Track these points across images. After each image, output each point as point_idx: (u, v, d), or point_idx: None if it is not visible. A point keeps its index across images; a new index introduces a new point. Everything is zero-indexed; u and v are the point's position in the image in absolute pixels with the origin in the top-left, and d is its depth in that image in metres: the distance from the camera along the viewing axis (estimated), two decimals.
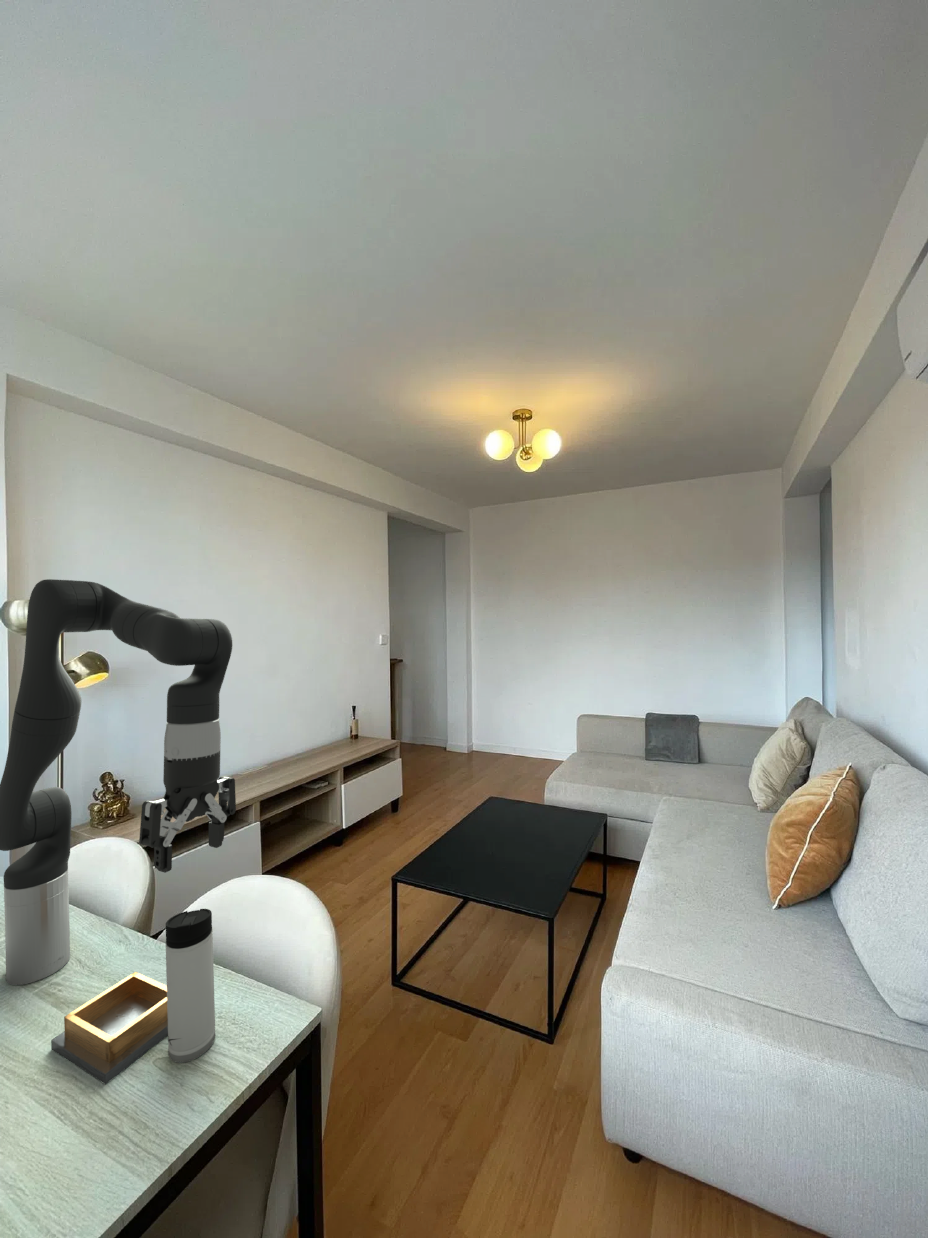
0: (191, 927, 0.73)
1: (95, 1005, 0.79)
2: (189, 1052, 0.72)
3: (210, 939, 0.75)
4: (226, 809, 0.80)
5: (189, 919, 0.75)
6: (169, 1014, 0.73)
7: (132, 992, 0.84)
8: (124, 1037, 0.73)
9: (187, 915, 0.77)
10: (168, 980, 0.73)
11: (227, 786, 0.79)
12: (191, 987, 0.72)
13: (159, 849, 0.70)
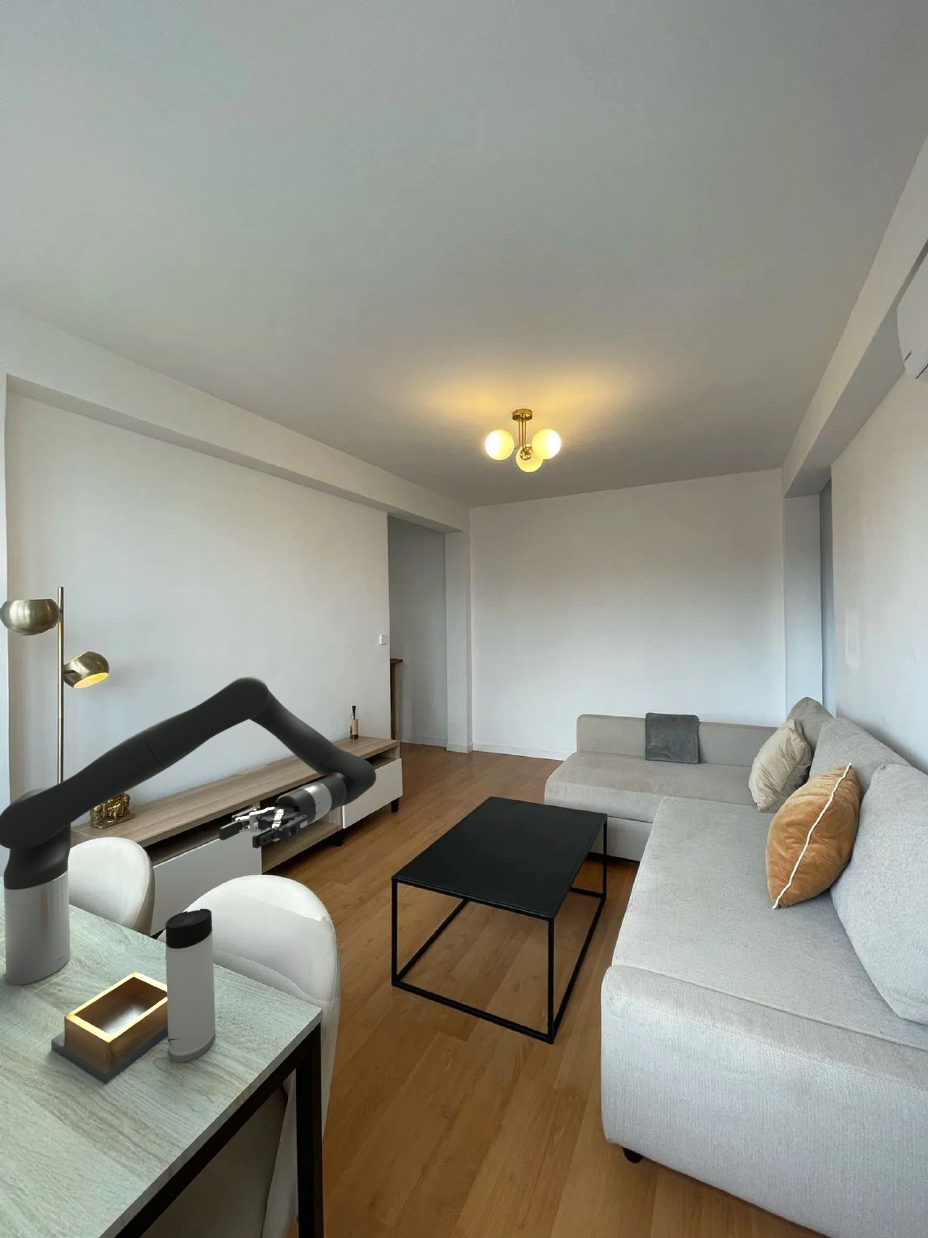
0: (191, 927, 0.73)
1: (95, 1005, 0.79)
2: (189, 1052, 0.72)
3: (210, 939, 0.75)
4: None
5: (189, 919, 0.75)
6: (169, 1014, 0.73)
7: (132, 992, 0.84)
8: (124, 1037, 0.73)
9: (187, 915, 0.77)
10: (168, 980, 0.73)
11: (256, 819, 0.98)
12: (191, 987, 0.72)
13: (274, 837, 0.88)
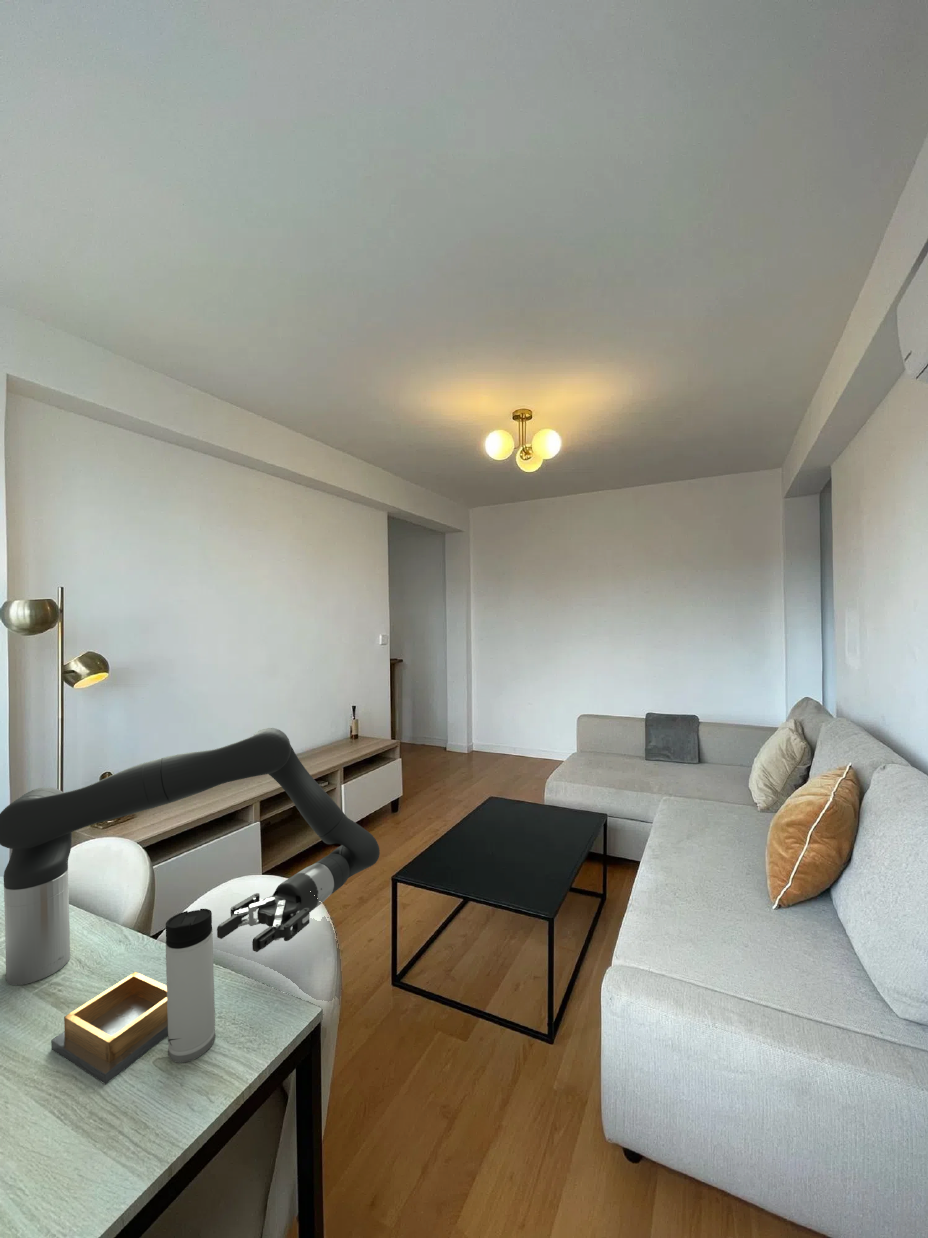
0: (191, 927, 0.73)
1: (95, 1005, 0.79)
2: (189, 1052, 0.72)
3: (210, 939, 0.75)
4: None
5: (189, 919, 0.75)
6: (169, 1014, 0.73)
7: (132, 992, 0.84)
8: (124, 1037, 0.73)
9: (187, 915, 0.77)
10: (168, 980, 0.73)
11: (256, 908, 0.94)
12: (191, 987, 0.72)
13: (275, 937, 0.84)
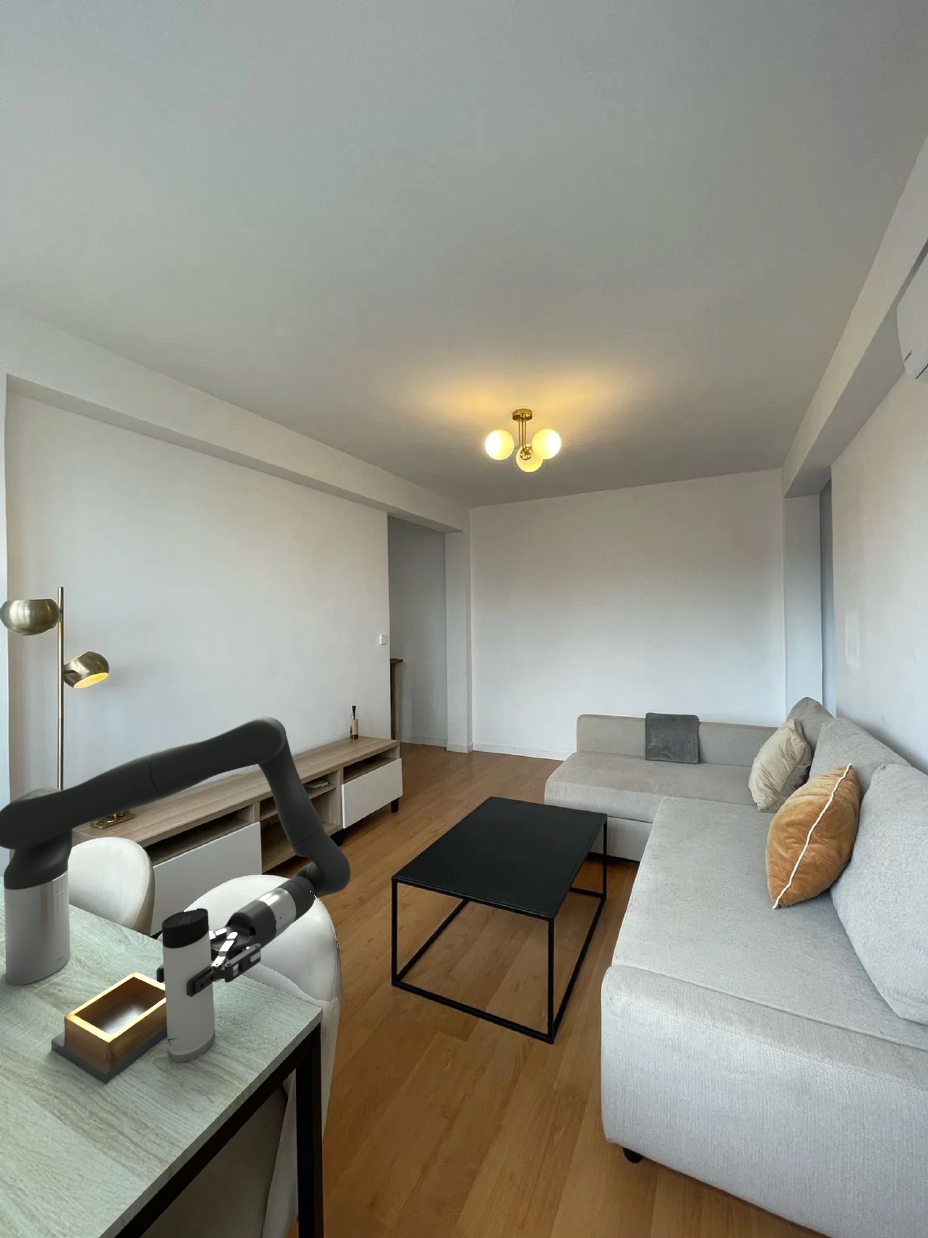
0: (187, 926, 0.73)
1: (95, 1005, 0.79)
2: (189, 1051, 0.72)
3: (207, 938, 0.75)
4: None
5: (186, 919, 0.75)
6: (168, 1014, 0.73)
7: (132, 992, 0.84)
8: (124, 1037, 0.73)
9: (184, 915, 0.77)
10: (166, 980, 0.73)
11: None
12: None
13: (214, 979, 0.74)
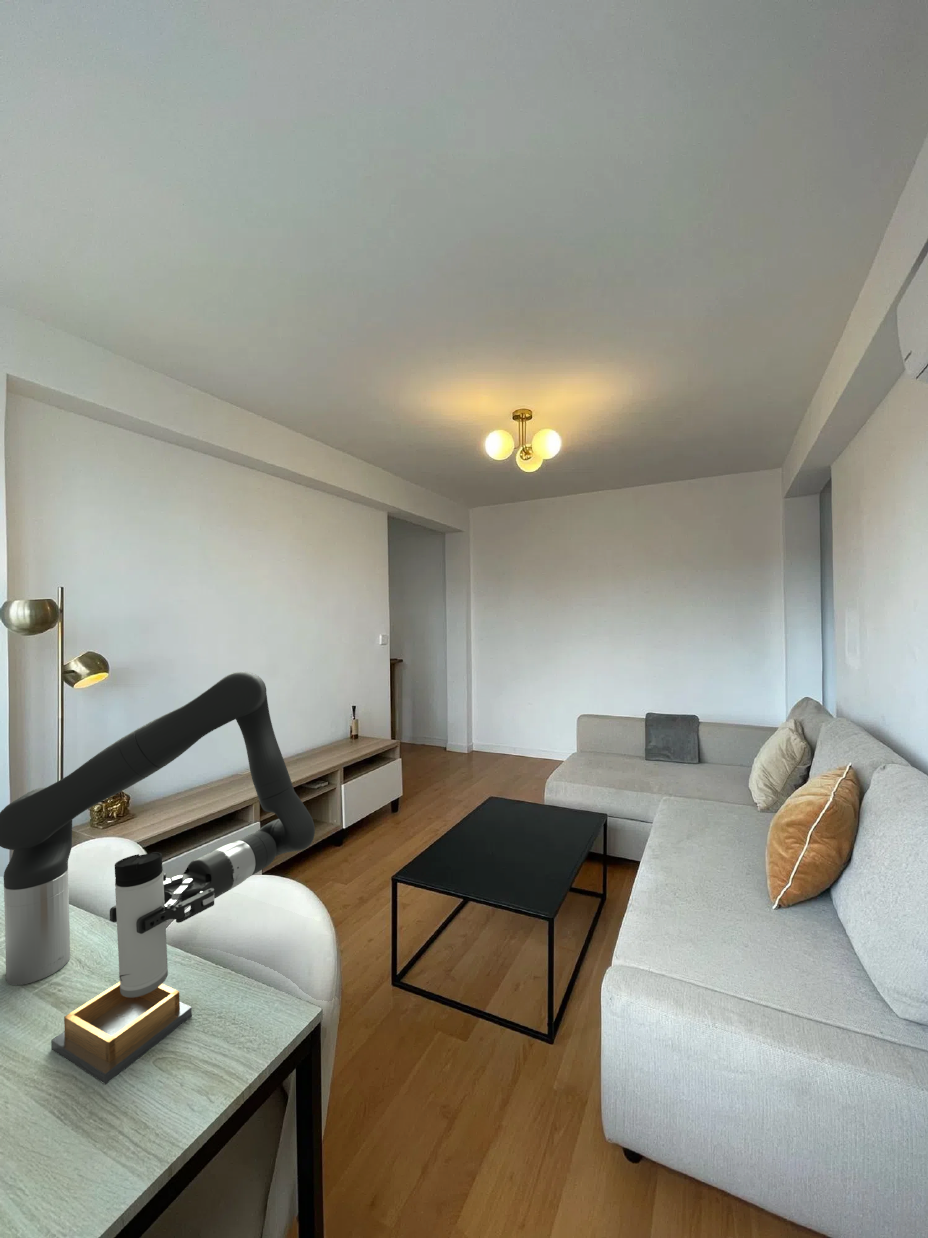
0: (139, 866, 0.74)
1: (95, 1005, 0.79)
2: (139, 987, 0.74)
3: (160, 880, 0.77)
4: None
5: (139, 860, 0.77)
6: (119, 951, 0.74)
7: None
8: (124, 1037, 0.73)
9: (138, 858, 0.78)
10: (117, 918, 0.74)
11: None
12: None
13: (165, 918, 0.76)
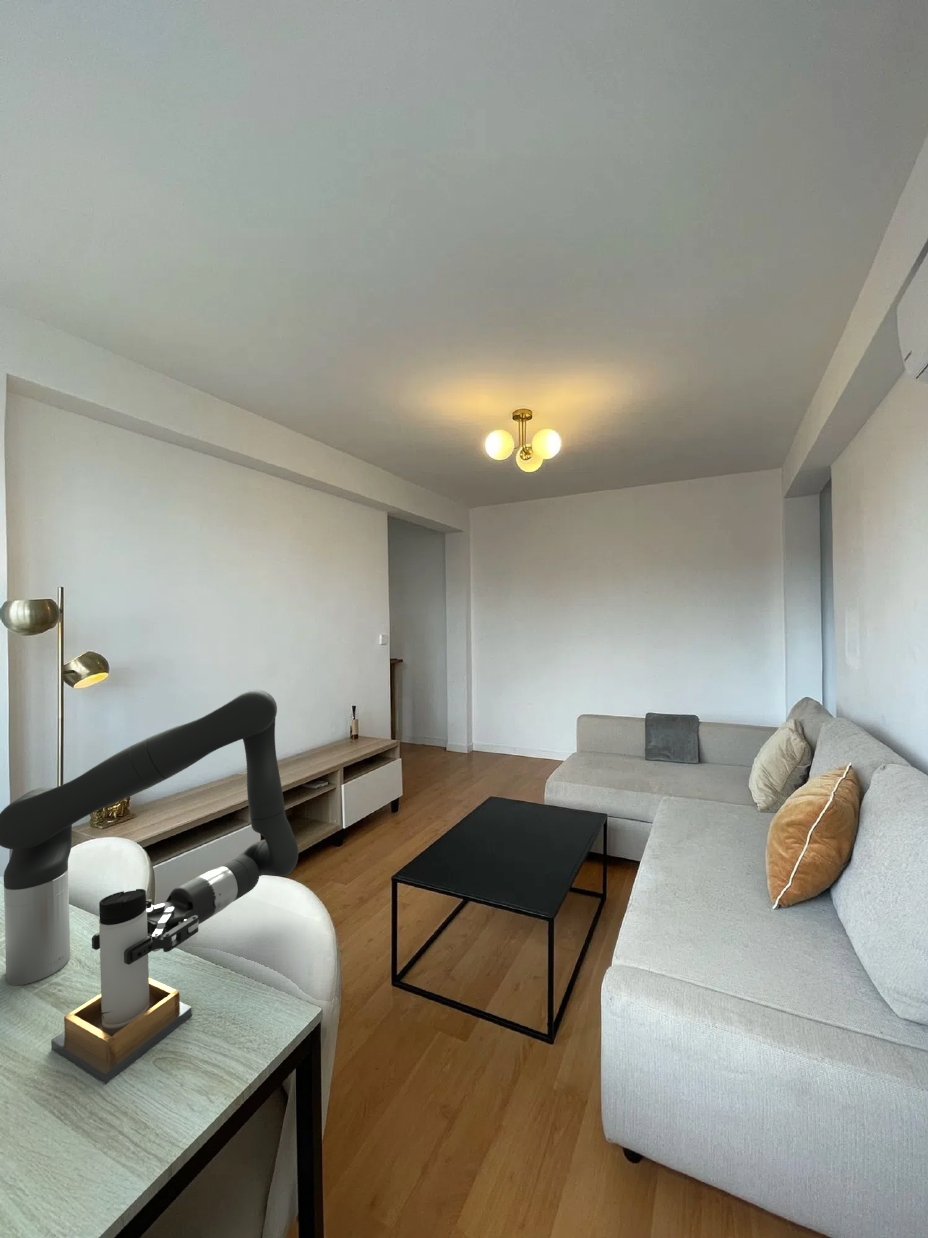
0: (123, 904, 0.76)
1: (95, 1005, 0.79)
2: (120, 1025, 0.76)
3: (143, 917, 0.79)
4: None
5: (124, 898, 0.79)
6: (102, 988, 0.76)
7: None
8: (124, 1037, 0.73)
9: (123, 895, 0.81)
10: (101, 955, 0.76)
11: None
12: (122, 962, 0.76)
13: (153, 948, 0.77)
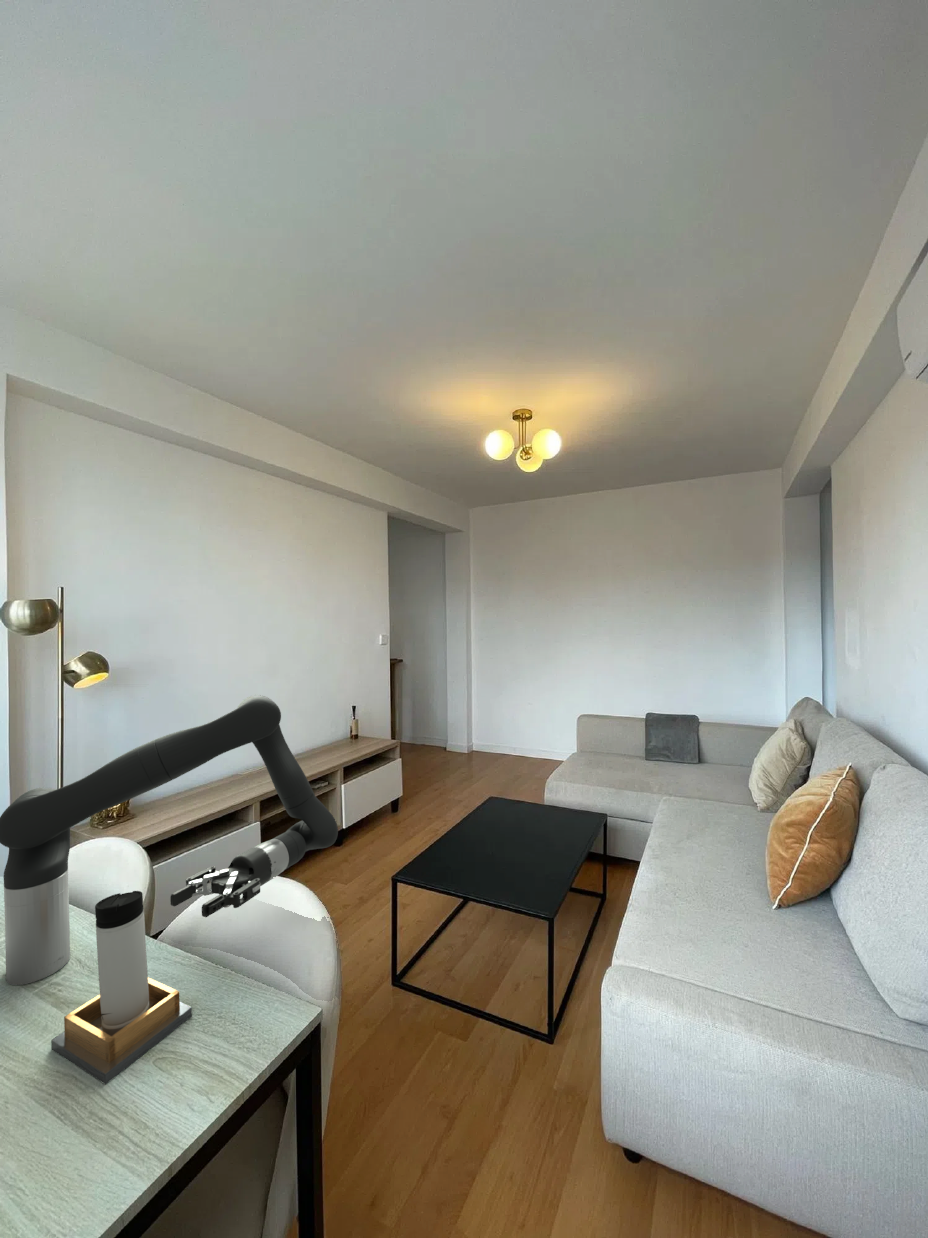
0: (118, 908, 0.75)
1: (95, 1005, 0.79)
2: (120, 1026, 0.75)
3: (140, 920, 0.78)
4: None
5: (120, 901, 0.78)
6: (100, 990, 0.76)
7: None
8: (124, 1037, 0.73)
9: (119, 897, 0.80)
10: (98, 958, 0.76)
11: (211, 880, 0.99)
12: (120, 965, 0.75)
13: (224, 904, 0.89)
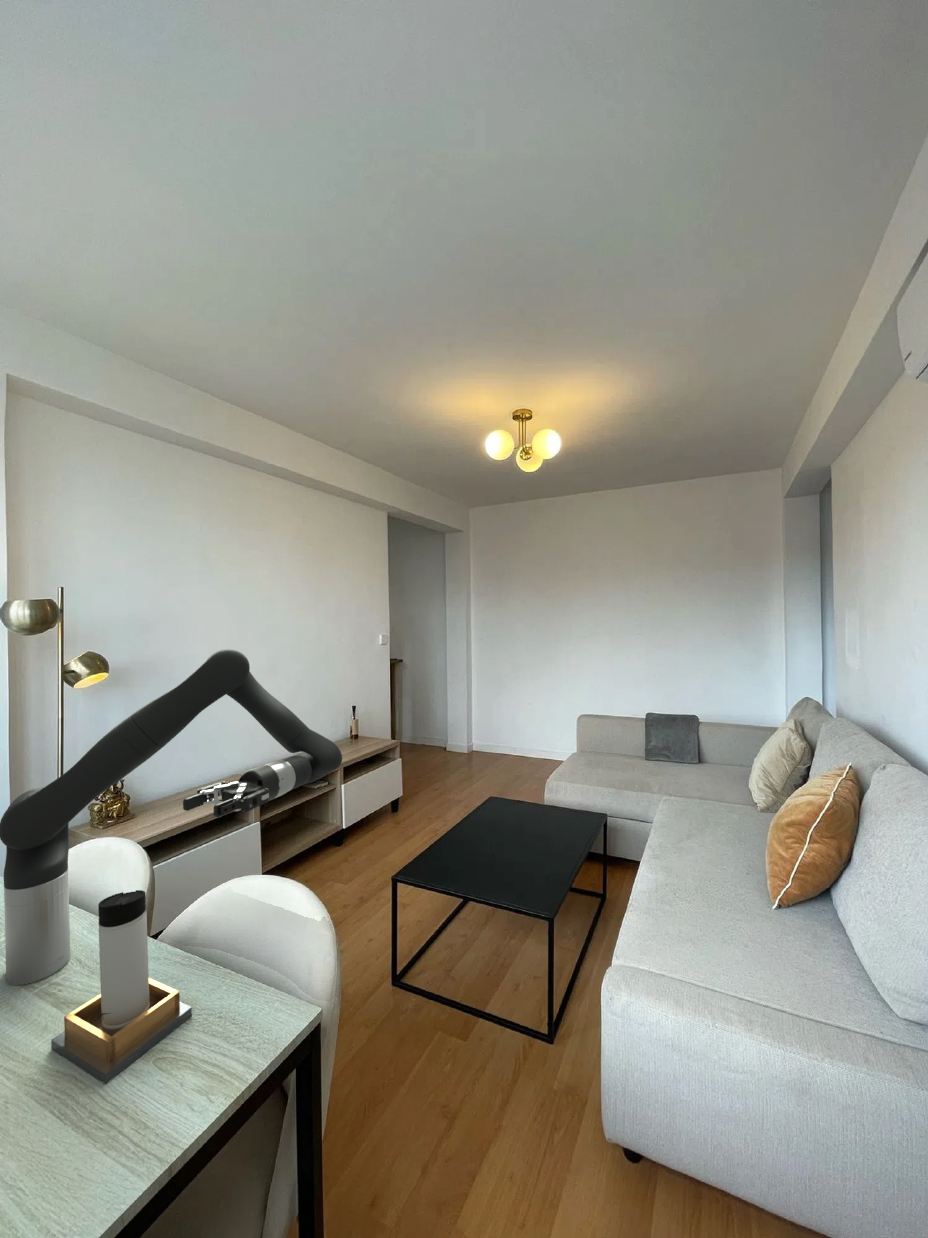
0: (121, 907, 0.76)
1: (95, 1005, 0.79)
2: (120, 1026, 0.75)
3: (143, 919, 0.79)
4: None
5: (123, 900, 0.79)
6: (101, 989, 0.76)
7: None
8: (124, 1037, 0.73)
9: (122, 896, 0.80)
10: (100, 957, 0.76)
11: (221, 793, 1.02)
12: (122, 964, 0.76)
13: (235, 808, 0.93)
